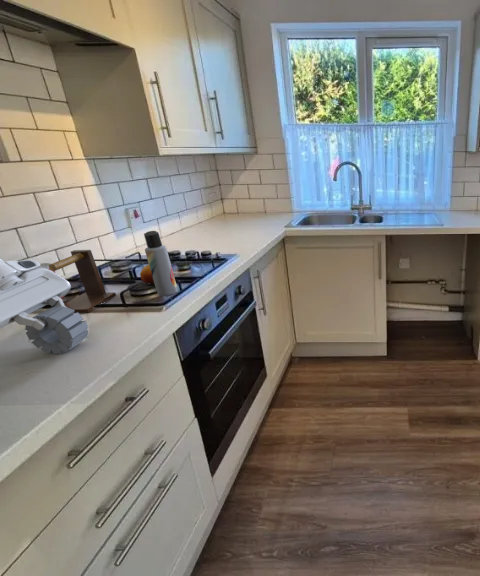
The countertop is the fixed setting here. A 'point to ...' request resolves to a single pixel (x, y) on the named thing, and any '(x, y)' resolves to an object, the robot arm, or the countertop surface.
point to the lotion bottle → (160, 264)
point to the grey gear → (58, 330)
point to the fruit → (147, 275)
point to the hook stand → (85, 281)
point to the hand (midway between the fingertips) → (56, 319)
